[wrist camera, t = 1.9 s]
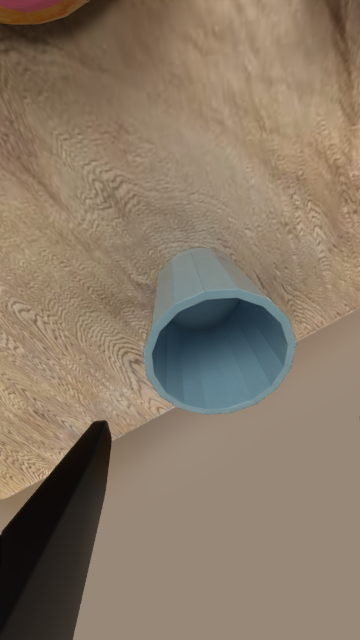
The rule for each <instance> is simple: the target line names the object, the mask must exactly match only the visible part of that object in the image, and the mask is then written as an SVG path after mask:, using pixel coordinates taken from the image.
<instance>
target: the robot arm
mask: <svg viewBox="0 0 360 640" xmlns="http://www.w3.org/2000/svg"><path fill="white" fill-rule="evenodd" d="M111 441H112V440H111V433H110V430H109V426H108V423H107V421H105V420H102V421H95V422H93V423H92V424H91V425H90V427H89V428H88V429H87V430H86V431H85V433H84V434H83V435H82V436H81V437H80V439H79V440H78V441H77V442H76V443H75V445H74V446H73V447H72V448H71V449H70V451H69V452H68V453H67V454H66V455H65V457H64V458H63V459H62V460H61V461H60V463H59V464H58V465H57V466H56V467H55V469H54V470H53V471H52V472H51V473H50V474H49V476H48V477H47V478H46V479H45V480H44V482H43V483H42V484H41V485H40V487H39V488H38V489H37V490H36V491H35V493H34V494H33V495H32V496H31V497H30V498H29V500H28V501H27V502H26V503H25V504H24V506H23V507H22V508H21V509H20V510H19V512H18V513H17V514H16V515H15V516H14V518H13V519H12V520H11V521H10V522H9V524H8V525H7V526H6V527H5V528H4V530H3V531H2V533H1V535H0V640H73V636H74V631H75V627H76V622H77V618H78V613H79V609H80V604H81V600H82V595H83V591H84V586H85V582H86V577H87V573H88V568H89V564H90V559H91V555H92V551H93V546H94V542H95V537H96V533H97V528H98V524H99V519H100V515H101V510H102V506H103V501H104V496H105V491H106V483H107V475H108V467H109V459H110V451H111Z"/></svg>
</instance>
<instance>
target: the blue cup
mask: <svg viewBox="0 0 360 640" xmlns="http://www.w3.org/2000/svg"><path fill="white" fill-rule="evenodd" d="M295 348H296V340H295V337H294V333H293V330H292V326H291V323H290V320H289V318H288V317H287V316H286V315H285V314H284V313H283V312H282V311H281V310H280V309H279V308H278V307H277V306H276V305H275V304H274V303H273V301H272V300H271V299H270V298H269V297H268V296H267V295H266V294H265V293H264V292H263V291H262V290H261V289H260V288H259V287H258V286H257V285H256V284H255V283H254V282H253V281H252V280H251V279H250V278H249V277H248V276H247V275H246V274H245V273H244V272H243V271H242V270H241V269H240V268H239V267H238V266H237V265H236V264H235V263H234V262H233V261H232V260H231V259H230V258H229V257H228V256H227V255H225V254H224V253H222V252H220V251H217V250H214V249H211V248H199V247H198V248H191V249H188V250H185V251H182V252H180V253H178V254H176V255H175V256H173V257H172V258H171V259H170V260H169V261H168V262H167V263H166V264H165V265H164V266H163V267H162V269H161V271H160V272H159V274H158V277H157V280H156V284H155V287H154V291H153V297H152V303H151V309H150V315H149V321H148V327H147V333H146V339H145V345H144V351H143V356H144V363H145V370H146V376H147V378H148V380H149V381H150V382H151V384H152V385H153V387H154V388H155V390H156V391H157V392H158V394H159V395H160V396H161V397H162V398H164V399H165V400H167V401H169V402H170V403H172V404H173V405H175V406H177V407H178V408H180V409H183V410H187V411H191V412H196V413H200V414H206V415H207V414H221V413H232V412H235V411H238V410H240V409H243V408H246V407H249V406H252V405H255V404H256V403H258V402H259V401H260V400H262V399H263V398H265V397H266V396H268V395H269V394H270V393H272V392H273V391H274V390H276V389H277V388H278V386H279V385H280V383H281V382H282V381H283V379H284V378H285V376H286V375H287V373H288V372H289V371H290V369H291V367H292V363H293V357H294V353H295Z"/></svg>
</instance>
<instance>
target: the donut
mask: <svg viewBox="0 0 360 640" xmlns="http://www.w3.org/2000/svg"><path fill="white" fill-rule="evenodd" d="M88 1H90V0H0V23H4V24H11V25H19V24H42V23H46V22H49V21H53V20H56V19H60V18H63V17H67V16H68V15H70V14H71V13H72V12H74V11H75V10H77V9H78V8H80V7H81V6H82V5H84V4H85V3H87V2H88Z"/></svg>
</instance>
